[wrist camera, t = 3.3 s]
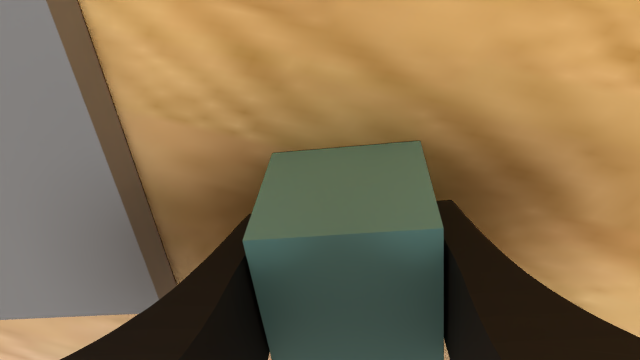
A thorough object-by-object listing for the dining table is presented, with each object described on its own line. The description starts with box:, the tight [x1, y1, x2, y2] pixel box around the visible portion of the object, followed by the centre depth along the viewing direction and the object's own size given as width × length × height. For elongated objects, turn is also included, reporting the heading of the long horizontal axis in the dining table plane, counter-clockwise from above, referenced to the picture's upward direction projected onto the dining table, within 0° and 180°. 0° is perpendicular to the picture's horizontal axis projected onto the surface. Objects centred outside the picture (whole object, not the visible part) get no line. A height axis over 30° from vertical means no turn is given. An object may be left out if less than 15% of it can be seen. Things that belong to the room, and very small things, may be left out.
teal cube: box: [242, 141, 444, 360], centre depth 12 cm, size 4×4×4 cm
